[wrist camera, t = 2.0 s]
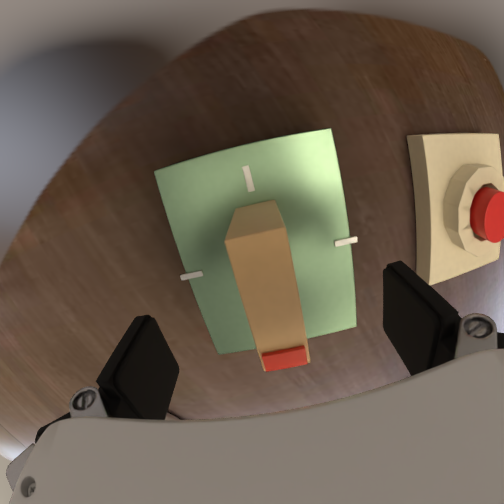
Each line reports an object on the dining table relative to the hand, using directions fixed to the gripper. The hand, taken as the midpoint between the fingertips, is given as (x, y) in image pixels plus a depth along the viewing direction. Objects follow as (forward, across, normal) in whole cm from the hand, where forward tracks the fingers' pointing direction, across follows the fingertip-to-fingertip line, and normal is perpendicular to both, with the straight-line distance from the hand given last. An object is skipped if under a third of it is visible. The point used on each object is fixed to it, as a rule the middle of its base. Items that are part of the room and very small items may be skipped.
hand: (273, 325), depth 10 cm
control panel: (+9, 0, 0) cm, 9 cm away
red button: (+5, -16, 0) cm, 17 cm away
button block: (+9, -16, 0) cm, 18 cm away
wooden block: (+6, 0, 0) cm, 6 cm away
